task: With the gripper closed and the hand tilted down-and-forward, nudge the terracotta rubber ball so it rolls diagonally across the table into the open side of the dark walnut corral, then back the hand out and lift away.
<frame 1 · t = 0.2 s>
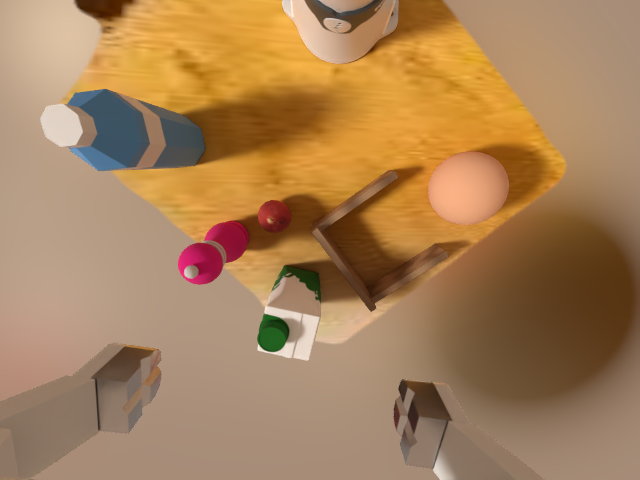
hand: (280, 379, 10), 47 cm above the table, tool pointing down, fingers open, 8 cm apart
corral: (378, 234, 57), on the table
rubber ball: (466, 188, 49), point 6 cm above the table
milk carton: (298, 284, 60), on the table
water bottle: (180, 142, 53), on the table
pepper mill: (233, 236, 58), on the table
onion: (277, 212, 56), on the table
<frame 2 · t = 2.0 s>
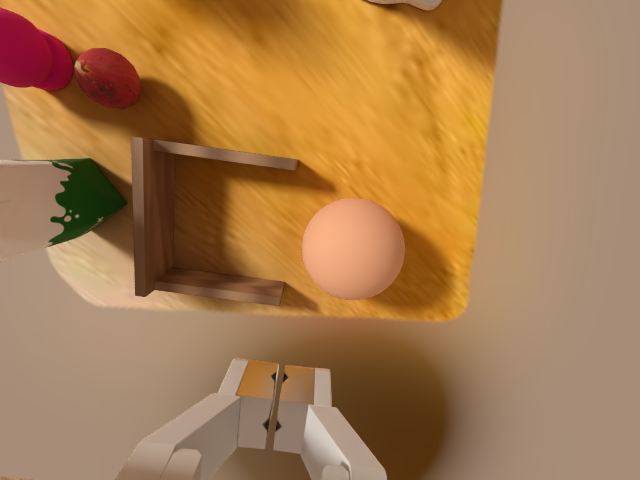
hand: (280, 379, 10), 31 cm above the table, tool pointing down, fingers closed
corral: (232, 220, 40), on the table
rubber ball: (352, 248, 35), point 6 cm above the table
milk carton: (92, 196, 40), on the table
pepper mill: (48, 63, 36), on the table
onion: (131, 88, 36), on the table
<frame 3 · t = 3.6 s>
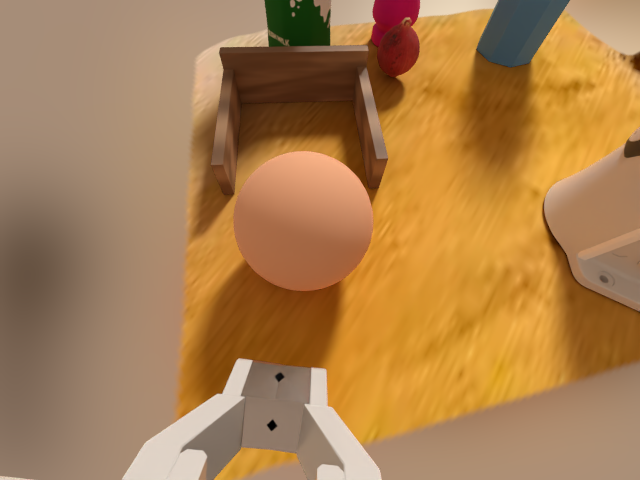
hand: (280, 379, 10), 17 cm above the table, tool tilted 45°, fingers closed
corral: (299, 142, 39), on the table
rubber ball: (304, 222, 26), point 6 cm above the table
milk carton: (299, 57, 48), on the table
water bottle: (503, 51, 50), on the table
pepper mill: (388, 41, 51), on the table
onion: (391, 77, 46), on the table
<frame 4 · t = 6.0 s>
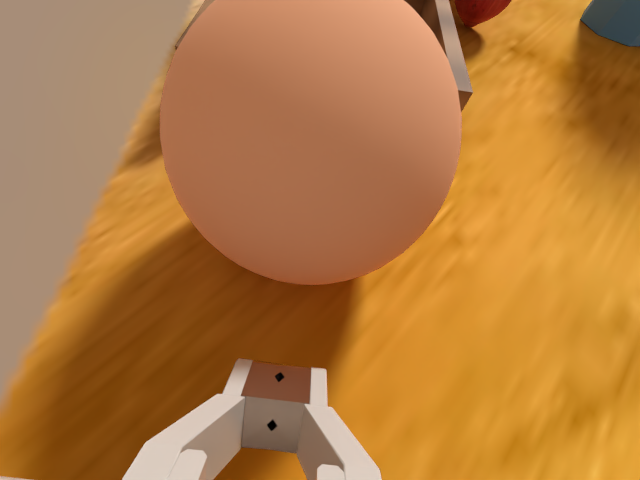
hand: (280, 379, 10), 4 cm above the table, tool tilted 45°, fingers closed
corral: (328, 74, 26), on the table
rubber ball: (312, 149, 13), point 6 cm above the table
water bottle: (615, 29, 38), on the table
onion: (466, 28, 34), on the table
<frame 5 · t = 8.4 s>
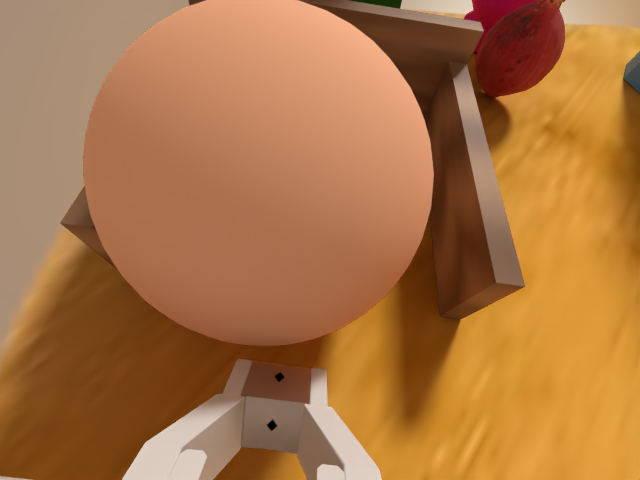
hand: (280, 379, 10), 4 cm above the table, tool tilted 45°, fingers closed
corral: (312, 183, 20), on the table
rubber ball: (274, 187, 12), point 6 cm above the table, tilted 100°
pepper mill: (483, 44, 32), on the table
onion: (487, 97, 27), on the table
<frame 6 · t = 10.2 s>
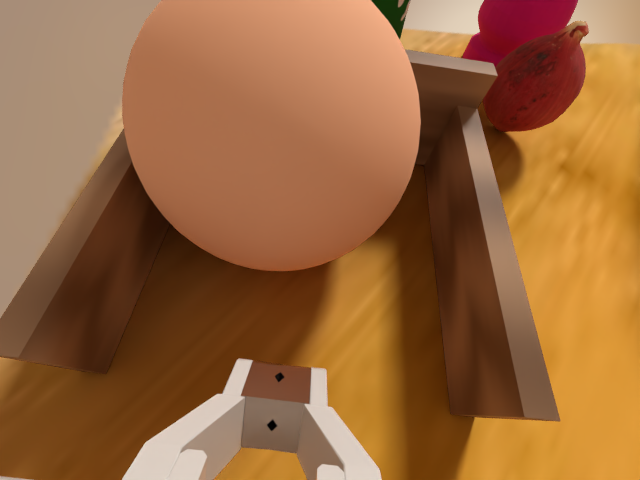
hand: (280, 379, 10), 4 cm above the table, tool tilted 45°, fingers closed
corral: (303, 244, 18), on the table
rubber ball: (281, 138, 13), point 6 cm above the table, tilted 169°
milk carton: (337, 68, 27), on the table
pepper mill: (490, 68, 30), on the table
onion: (497, 131, 25), on the table
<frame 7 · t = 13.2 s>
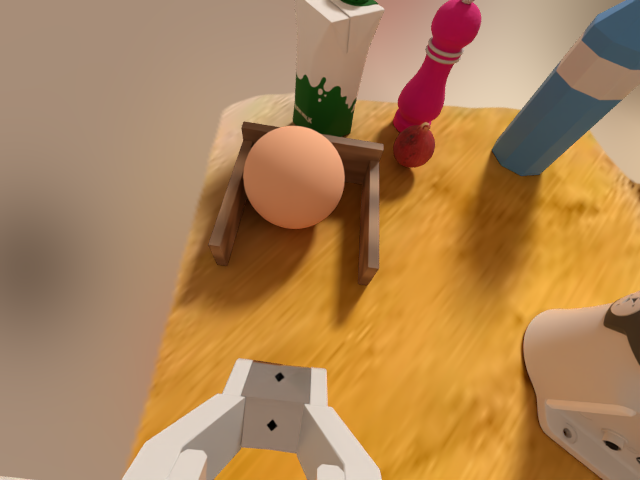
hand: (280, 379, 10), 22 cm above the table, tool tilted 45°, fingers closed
corral: (301, 220, 40), on the table
rubber ball: (294, 179, 35), point 6 cm above the table, tilted 168°
milk carton: (320, 128, 50), on the table
water bottle: (516, 157, 51), on the table
pepper mill: (409, 126, 52), on the table
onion: (404, 165, 47), on the table
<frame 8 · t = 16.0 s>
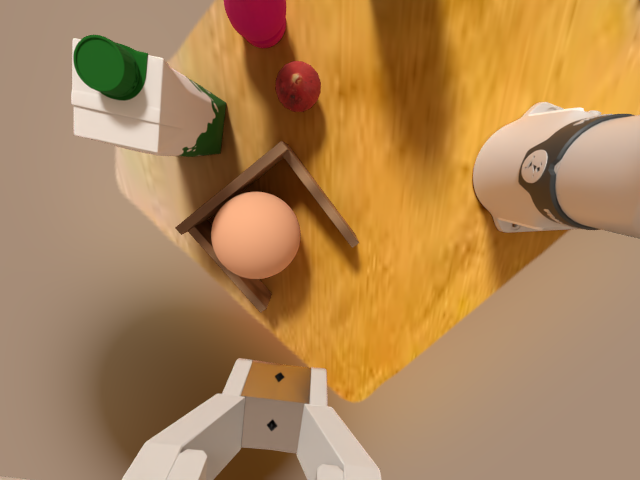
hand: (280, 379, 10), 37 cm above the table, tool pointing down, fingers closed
corral: (278, 229, 47), on the table
rubber ball: (257, 235, 41), point 6 cm above the table, tilted 166°
milk carton: (200, 124, 43), on the table
pepper mill: (263, 22, 40), on the table
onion: (300, 94, 42), on the table
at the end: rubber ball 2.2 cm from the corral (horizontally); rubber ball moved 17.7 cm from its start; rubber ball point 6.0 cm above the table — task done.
